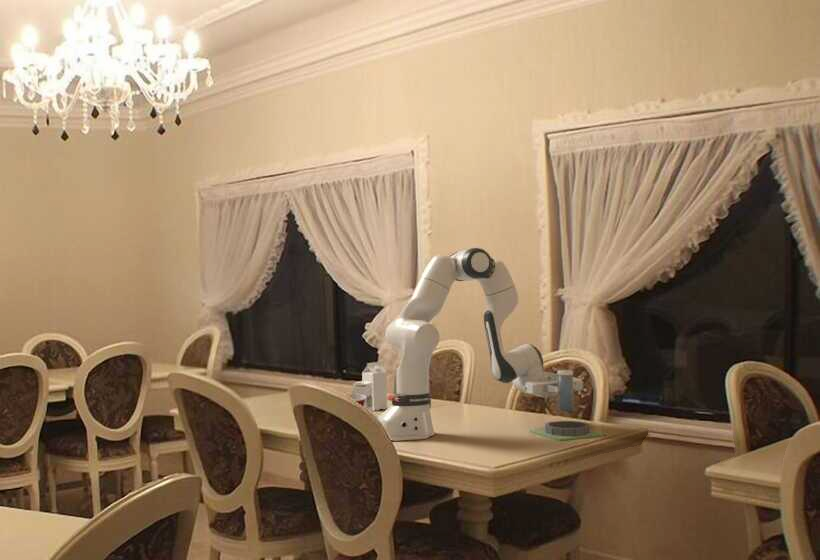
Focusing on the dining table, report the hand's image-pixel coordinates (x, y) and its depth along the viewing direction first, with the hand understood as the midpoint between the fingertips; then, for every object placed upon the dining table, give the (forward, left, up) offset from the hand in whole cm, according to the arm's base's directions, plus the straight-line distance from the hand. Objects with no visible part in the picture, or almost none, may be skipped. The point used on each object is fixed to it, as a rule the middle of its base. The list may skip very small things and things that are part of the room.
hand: (567, 388), depth 284 cm
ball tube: (0, +1, -7) cm, 7 cm away
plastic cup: (-60, +46, -15) cm, 77 cm away
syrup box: (-50, +61, -15) cm, 80 cm away
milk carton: (-36, +84, -15) cm, 92 cm away
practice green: (0, +1, -15) cm, 15 cm away
